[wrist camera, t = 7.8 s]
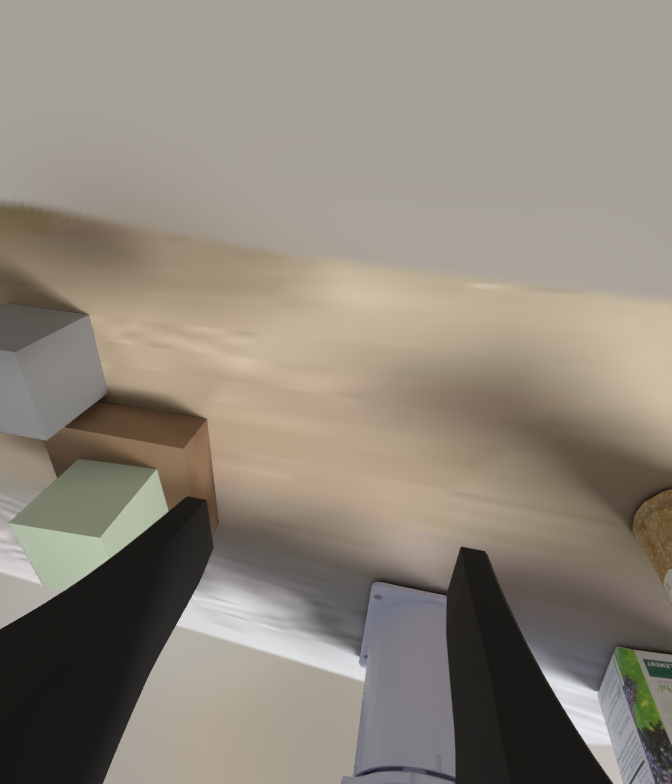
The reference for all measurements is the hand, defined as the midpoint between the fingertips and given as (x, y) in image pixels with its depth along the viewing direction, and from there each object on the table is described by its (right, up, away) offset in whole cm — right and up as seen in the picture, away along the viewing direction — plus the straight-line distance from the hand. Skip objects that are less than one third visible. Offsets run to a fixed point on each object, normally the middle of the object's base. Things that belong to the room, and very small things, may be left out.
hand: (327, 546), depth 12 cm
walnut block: (-11, 0, +14) cm, 18 cm away
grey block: (-14, +7, +11) cm, 19 cm away
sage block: (-11, -1, +11) cm, 16 cm away
